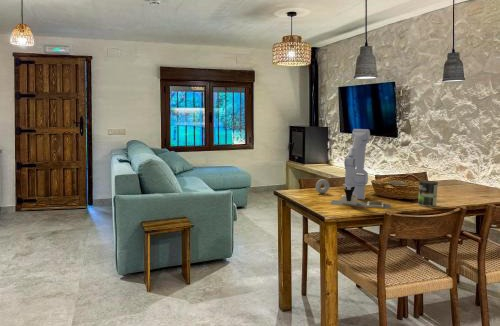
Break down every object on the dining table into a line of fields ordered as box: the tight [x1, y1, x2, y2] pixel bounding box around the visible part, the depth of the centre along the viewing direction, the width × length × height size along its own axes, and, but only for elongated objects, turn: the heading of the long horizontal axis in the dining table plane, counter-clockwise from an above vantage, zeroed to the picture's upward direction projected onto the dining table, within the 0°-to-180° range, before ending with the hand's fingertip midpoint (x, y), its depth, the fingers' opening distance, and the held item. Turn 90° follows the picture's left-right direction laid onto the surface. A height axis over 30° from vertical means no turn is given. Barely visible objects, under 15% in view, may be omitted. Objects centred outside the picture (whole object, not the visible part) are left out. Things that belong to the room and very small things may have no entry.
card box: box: [340, 194, 358, 205], centre depth 252 cm, size 9×5×5 cm, turn 73°
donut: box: [315, 178, 330, 195], centre depth 284 cm, size 10×4×10 cm, turn 107°
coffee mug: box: [388, 180, 406, 186], centre depth 274 cm, size 13×10×10 cm
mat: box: [330, 199, 392, 210], centre depth 251 cm, size 13×34×1 cm, turn 73°
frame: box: [366, 200, 384, 209], centre depth 248 cm, size 13×9×1 cm
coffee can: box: [417, 179, 439, 207], centre depth 252 cm, size 10×10×14 cm
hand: (349, 199), depth 252 cm, fingers open, 7 cm apart
